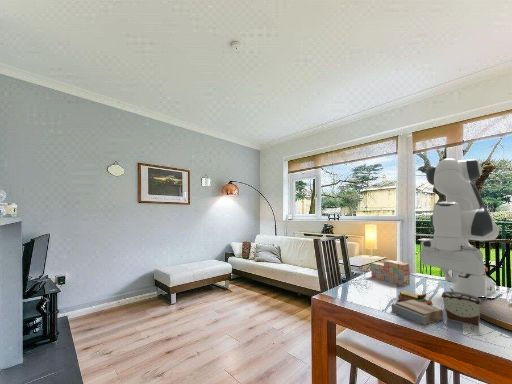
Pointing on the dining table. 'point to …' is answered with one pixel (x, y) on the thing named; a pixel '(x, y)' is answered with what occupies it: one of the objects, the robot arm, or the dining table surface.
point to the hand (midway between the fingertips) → (451, 281)
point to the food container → (462, 307)
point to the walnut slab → (423, 310)
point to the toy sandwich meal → (413, 297)
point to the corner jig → (409, 314)
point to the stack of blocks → (391, 272)
